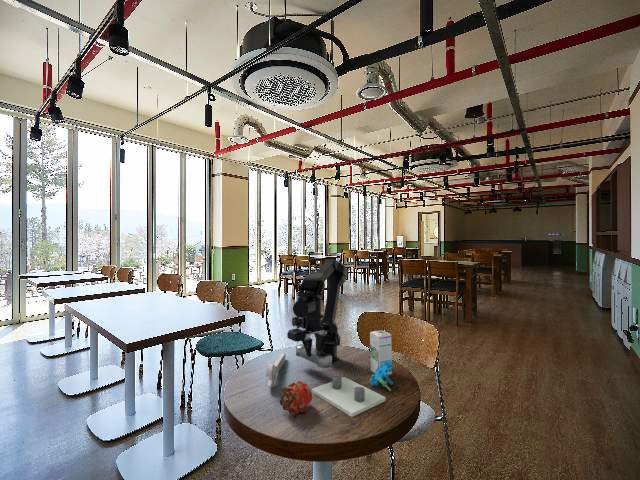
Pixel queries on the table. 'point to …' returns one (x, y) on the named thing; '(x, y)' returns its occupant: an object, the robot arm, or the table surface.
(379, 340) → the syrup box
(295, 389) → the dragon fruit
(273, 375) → the wrench
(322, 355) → the ball-ended metal rod
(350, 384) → the peg board
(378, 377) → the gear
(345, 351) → the table surface
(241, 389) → the table surface
